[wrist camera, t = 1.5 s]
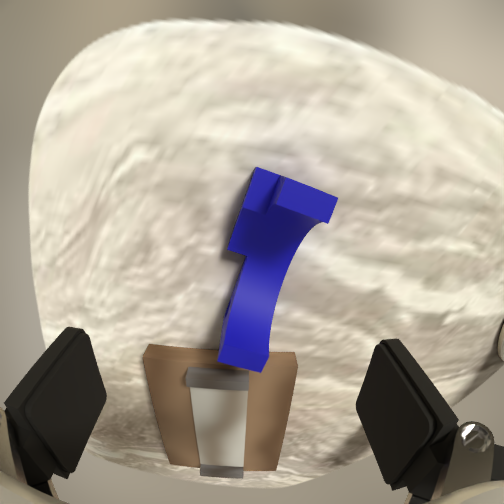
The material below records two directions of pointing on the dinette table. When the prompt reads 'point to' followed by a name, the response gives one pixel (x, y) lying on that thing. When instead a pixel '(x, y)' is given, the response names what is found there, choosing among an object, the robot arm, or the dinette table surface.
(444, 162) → the dinette table surface
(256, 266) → the blue curved piece
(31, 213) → the dinette table surface
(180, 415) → the rail board
